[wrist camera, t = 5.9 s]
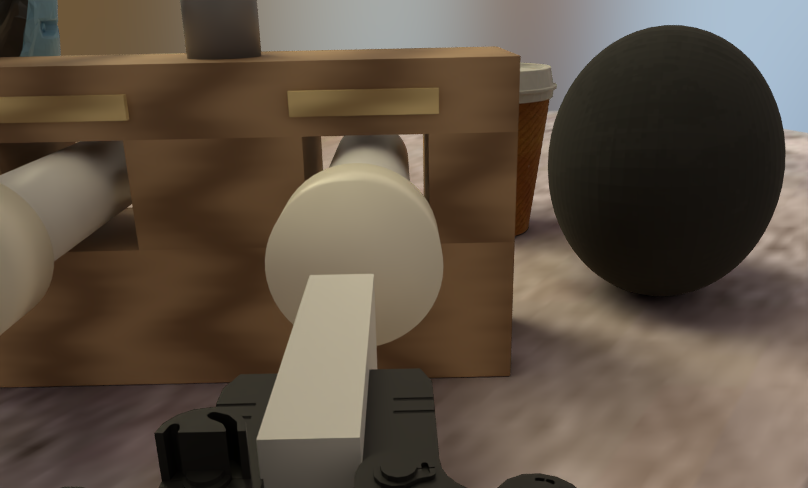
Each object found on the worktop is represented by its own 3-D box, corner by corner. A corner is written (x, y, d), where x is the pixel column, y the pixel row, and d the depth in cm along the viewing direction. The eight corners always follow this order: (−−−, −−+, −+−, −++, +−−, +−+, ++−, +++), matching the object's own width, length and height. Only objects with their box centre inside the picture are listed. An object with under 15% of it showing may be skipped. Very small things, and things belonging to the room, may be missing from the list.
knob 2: (272, 350, 21) (257, 183, 20) (323, 210, 36) (316, 108, 34) (443, 346, 21) (443, 178, 20) (424, 208, 36) (423, 105, 34)
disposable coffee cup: (493, 256, 48) (497, 75, 44) (400, 227, 54) (396, 68, 50) (575, 226, 54) (585, 65, 50) (481, 203, 60) (484, 60, 56)
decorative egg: (677, 357, 34) (716, 31, 29) (500, 282, 43) (506, 28, 38) (805, 295, 40) (854, 22, 35) (627, 242, 50) (646, 21, 45)
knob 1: (-141, 359, 21) (-191, 193, 20) (78, 215, 36) (60, 113, 34) (31, 355, 21) (-5, 188, 20) (180, 213, 36) (167, 110, 34)
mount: (-38, 391, 32) (-119, 70, 27) (40, 323, 39) (-15, 57, 34) (511, 378, 32) (521, 56, 27) (490, 312, 39) (496, 46, 34)
